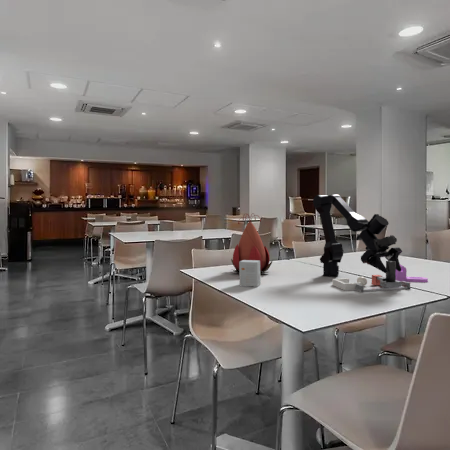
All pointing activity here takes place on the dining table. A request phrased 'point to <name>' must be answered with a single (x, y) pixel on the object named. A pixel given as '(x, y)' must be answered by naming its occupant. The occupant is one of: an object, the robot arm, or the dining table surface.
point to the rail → (366, 289)
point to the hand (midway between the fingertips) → (393, 271)
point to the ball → (362, 281)
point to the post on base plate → (387, 277)
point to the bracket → (402, 277)
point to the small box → (249, 273)
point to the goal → (344, 284)
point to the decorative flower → (251, 248)
